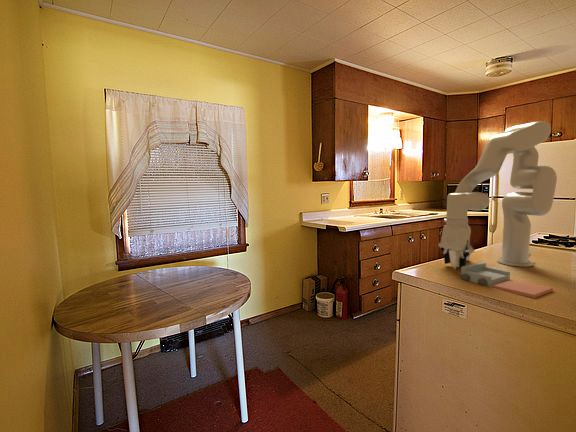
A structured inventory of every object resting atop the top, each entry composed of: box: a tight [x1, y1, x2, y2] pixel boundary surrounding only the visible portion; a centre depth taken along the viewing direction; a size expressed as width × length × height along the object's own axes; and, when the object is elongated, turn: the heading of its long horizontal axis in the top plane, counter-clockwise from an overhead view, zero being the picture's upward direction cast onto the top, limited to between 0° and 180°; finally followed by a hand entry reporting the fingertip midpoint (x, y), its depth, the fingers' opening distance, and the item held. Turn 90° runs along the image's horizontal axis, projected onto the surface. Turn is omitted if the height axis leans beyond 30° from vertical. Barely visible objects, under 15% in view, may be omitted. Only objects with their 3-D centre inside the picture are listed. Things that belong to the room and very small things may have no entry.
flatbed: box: [460, 261, 511, 288], centre depth 110 cm, size 15×11×5 cm
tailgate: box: [492, 279, 554, 299], centre depth 100 cm, size 12×12×1 cm
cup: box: [448, 249, 467, 270], centre depth 125 cm, size 7×10×8 cm
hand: (454, 264), depth 126 cm, fingers closed on cup, 5 cm apart
